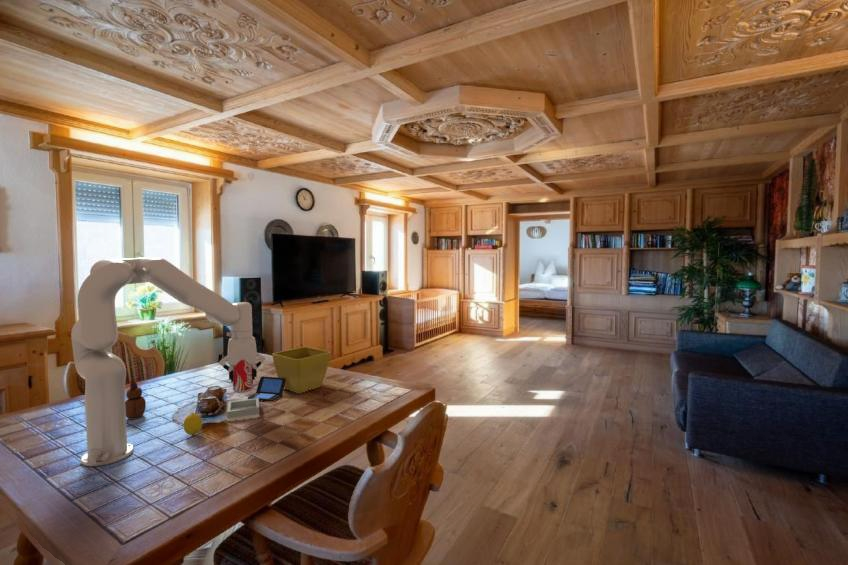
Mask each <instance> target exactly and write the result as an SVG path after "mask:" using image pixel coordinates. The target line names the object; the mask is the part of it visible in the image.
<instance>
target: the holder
mask: <svg viewBox="0 0 848 565" xmlns="http://www.w3.org/2000/svg"><path fill="white" fill-rule="evenodd" d="M257 417H259V418H260V401H259V398H254V399H248V398H246V399H237V400H232V401H230V400H229V401H228V404H227V409H226V422H227V421H231V422H236V421H235V420H238V421H244V420H243V419H245V420H251V419H250V418H252V419H258V418H257Z"/></svg>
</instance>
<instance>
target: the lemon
mask: <svg viewBox="0 0 848 565" xmlns="http://www.w3.org/2000/svg"><path fill="white" fill-rule="evenodd" d="M202 428H203V419H202V417H201V415H200V414H198V413H195V412H191V413H190V414H188V415H187V416H186V417H185V418H184V421H183V430H184V432H185V433H186V434H187V435H189V436H190V435H191V436H192V437H193V436H194V437H195V436H196V434H198V433H199V432H200V431H201V430H202Z"/></svg>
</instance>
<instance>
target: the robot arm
mask: <svg viewBox="0 0 848 565" xmlns="http://www.w3.org/2000/svg"><path fill="white" fill-rule="evenodd" d="M143 283H150V284H152V285H153V286H155V287H156V288H158V289H160V290H161V291H163V292H165V293H166V294H168V295H169V296H170V297H172V298H174V299H175V300H176V301H178V302H179V303H182V304H184V305H186V306H188V307H191V308H194V309H197V310H199V311H202V312H204V314H205V318H206V320H207V321H208V322H210V323H212V324H216V325H220V326H225V327H230V331H229V332H226V337H230V338H229V339H228V342H227V355H226V356H224V357H223V358H221V359H220V360H219V362H218V364H219V365H220V366H221V367H222V368H223V369H224V370H226V371H227V372H228V380H229V381H230V383H233V366H236V365H237V363H238V362H240V360H243V359H246V360H245V361H246V362H248V364H252V366H253V381H255V380H256V378H257V377H258V376H257V375H258V374H257V373H258V370H257V369H258V368H259V367H260V366H261V365H262V363H263V362H264V361H265V360H266V358H265V356H264V355H262V354H260V353H259V352H257V343H256V337H254V336H253V313H252V312H253V308H252V304H251V303H250V302H247V301H242V302H233V303H231V302H230V301H229V300H227V299H226V298H225V297H223V296H222V295H220V294H218V293H217V292H215V291H213V290H211V289H210V288H208V287H207V286H205V285H203V284H201V283H200V282H198V281H196V280H195V279H193V278H192V277H191V276H189V275H188V274H186V273H185V272H184V271H183V270H181V269H179V268H178V267H177V266H175V265H174V264H172V263H171V262H170V261H168V260H167V259H165V258H161V257H157V256H156V257H155V256H154V257H152V256H151V257H150V256H149V257H135V258H134V257H133V258H111V259H108V258H107V259H106V258H105V259H102V260H98V261H96V262H95V263H94V264H93V265H91V268H90V271H89V275H88V276H87V277H86V278H85V279H84V280H83V282H82V283H81V286H80V288H79V289H78V294H77V310H78V311H77V314H78V320H77V321H76V322H75V323H74V324H73V326H72V328H71V334H70V337H71V339H70V340H71V346H72V354H73V362H74V365H75V366H74V367H75V370H76V372H77V374H78V375H79V377H81V378H82V379H83V380H84V381H85V382H84V383H85V387H84V388H85V390H84V410H85V412H84V414H85V427H86V428H85V429H86V430H85V432H86V447H87V450H86V451H87V452H86V453H84V454H83V455H82V456H81V458H80V463H81V465H82V466H86V467H100V466H106V465H110V464H113V463H116V462H118V461H121V460H123V459H126V458H127V457H129V456H130V455H131V454H132V453H134V448H135V447H134V445H133V444H131V443H128V434H127V432H128V430H127V417H126V406H125V402H126V381H127V380H126V379H127V368H126V364H125V362H124V361H123V359H122V358H121V357H119V356H118V355H115V354H114V353H113V349H112V347H113V346H114V345H115V344H116V343H117V340H118V339H119V328H118V323H117V316H116V304H115V303H116V297H117V294H118V293H119V291H120V290H121V289H122V288H123V287H125V286H127V285H132V284H133V285H134V284H143ZM258 358H259V360H258ZM225 362H227V363H225Z"/></svg>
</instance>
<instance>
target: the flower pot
mask: <svg viewBox="0 0 848 565" xmlns="http://www.w3.org/2000/svg"><path fill="white" fill-rule="evenodd" d="M330 356H331V351H328V350H323V349H320V348H314V347H311V346H310V347H309V346H301V347H297V348H291V349H287V350H281V351H277V352H273V353H272V360H273V364H274V368H275V369H274V370H275V372H276V375H277V378H285V379H286V382H285V386H284V388H285V389H287V390H286V391H288V390H290V391H289V392H292V391H293V392H292V393H295V392H296V393H295V394H298V393H300V394H303V393H302V392H304V393H306V392H305V391H307V392H309V391H308V390H310V391H312V390H311V389H313V390H315V389H314V388H316V387H319V386H321V387H322V385H323V382H324V379H325V376H326V374H327V371H328V367H329V363H330V362H329V361H330ZM285 389H284V390H285Z"/></svg>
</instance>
